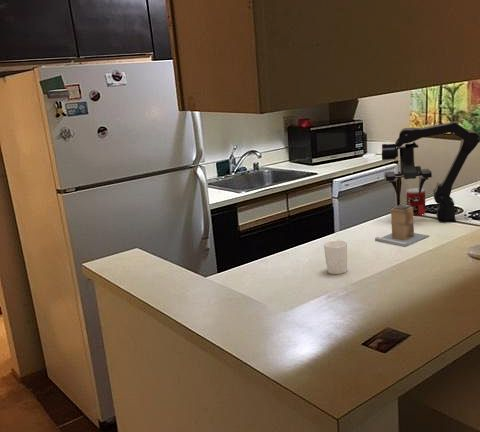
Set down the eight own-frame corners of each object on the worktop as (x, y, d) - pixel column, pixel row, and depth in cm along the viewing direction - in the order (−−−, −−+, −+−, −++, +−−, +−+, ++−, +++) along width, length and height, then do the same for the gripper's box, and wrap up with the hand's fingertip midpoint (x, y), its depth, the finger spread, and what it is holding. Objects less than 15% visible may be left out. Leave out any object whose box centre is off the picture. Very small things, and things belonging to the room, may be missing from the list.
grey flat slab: (399, 231, 228) (399, 228, 228) (429, 236, 217) (429, 233, 217) (375, 240, 219) (375, 238, 219) (404, 247, 208) (404, 244, 208)
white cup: (343, 276, 187) (341, 248, 184) (322, 273, 191) (320, 246, 188) (352, 268, 193) (350, 240, 191) (331, 266, 197) (329, 239, 195)
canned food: (403, 213, 252) (402, 190, 249) (417, 210, 255) (416, 187, 253) (415, 216, 245) (414, 192, 243) (429, 213, 248) (428, 189, 246)
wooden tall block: (402, 234, 222) (401, 203, 219) (414, 236, 218) (412, 205, 215) (392, 238, 219) (390, 207, 216) (403, 240, 214) (402, 209, 211)
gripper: (386, 163, 226) (388, 200, 230) (434, 159, 224) (434, 197, 227) (383, 159, 237) (385, 194, 241) (428, 155, 234) (429, 191, 238)
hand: (408, 194), depth 237 cm, fingers open, 9 cm apart
